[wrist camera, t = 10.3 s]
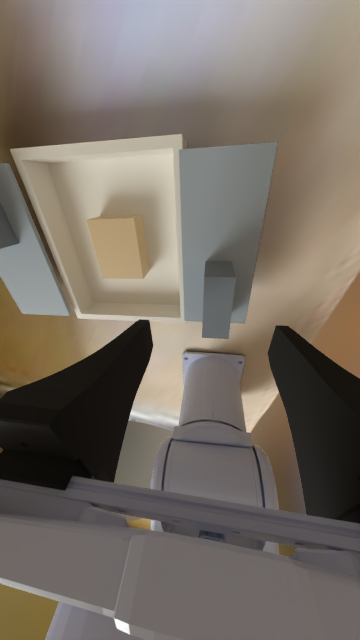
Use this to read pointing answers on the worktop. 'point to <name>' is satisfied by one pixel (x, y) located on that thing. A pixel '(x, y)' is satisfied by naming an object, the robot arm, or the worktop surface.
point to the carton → (112, 223)
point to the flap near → (222, 229)
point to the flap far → (25, 255)
